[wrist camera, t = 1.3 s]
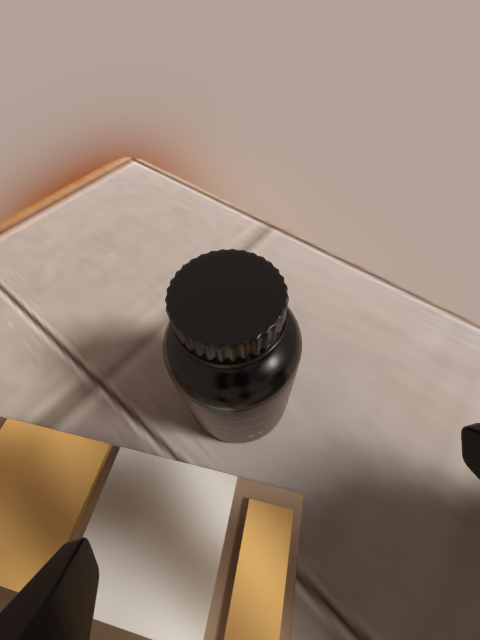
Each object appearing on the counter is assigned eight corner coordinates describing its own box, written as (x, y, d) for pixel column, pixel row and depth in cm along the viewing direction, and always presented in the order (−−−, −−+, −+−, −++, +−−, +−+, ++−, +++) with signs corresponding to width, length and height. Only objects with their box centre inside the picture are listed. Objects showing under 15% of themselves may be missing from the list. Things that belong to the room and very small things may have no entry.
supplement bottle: (184, 364, 23) (133, 246, 13) (269, 344, 24) (283, 217, 14) (199, 459, 19) (144, 394, 9) (300, 431, 20) (349, 343, 10)
